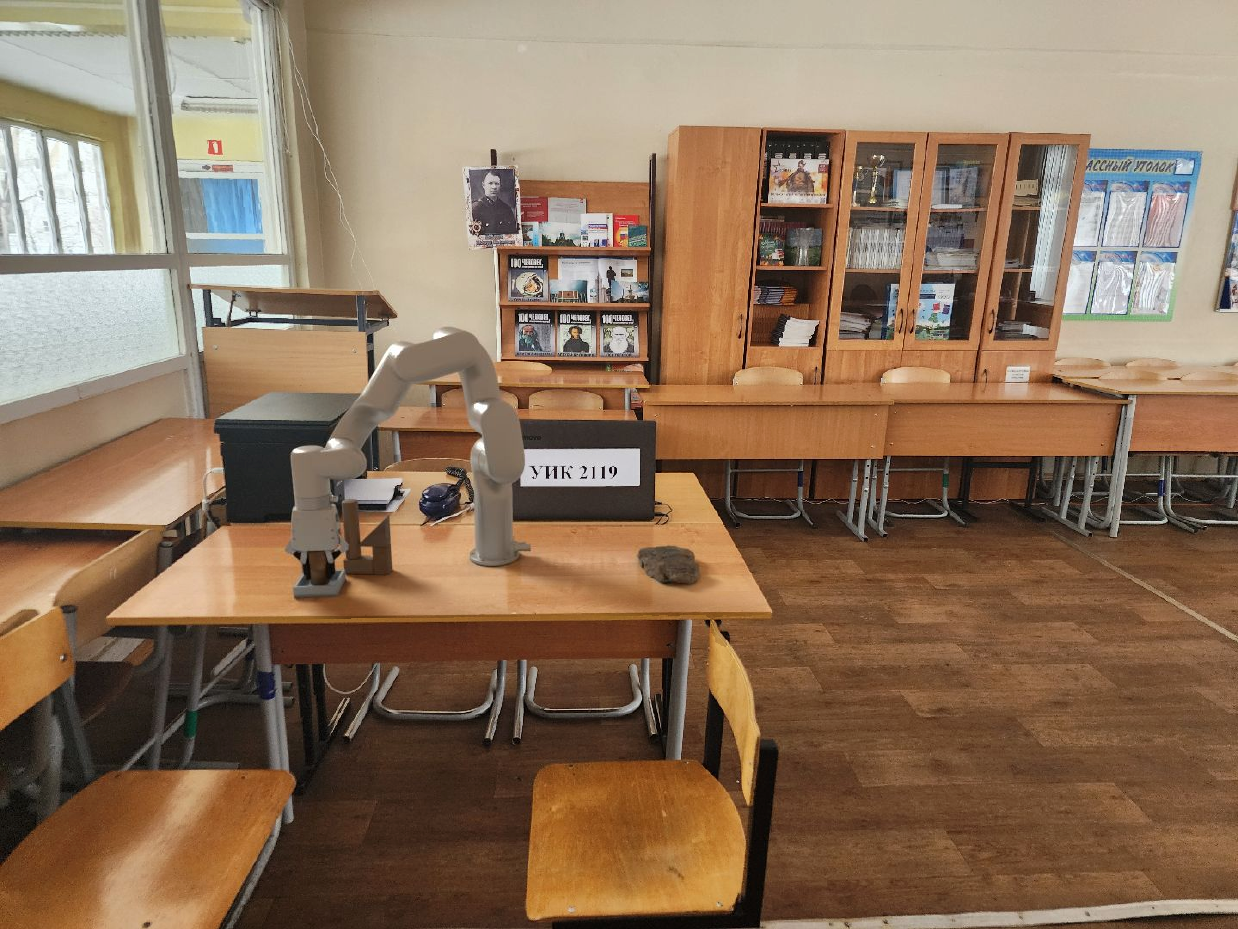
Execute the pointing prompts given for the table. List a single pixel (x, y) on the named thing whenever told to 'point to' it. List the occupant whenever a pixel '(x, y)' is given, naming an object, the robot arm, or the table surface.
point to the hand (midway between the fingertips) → (320, 576)
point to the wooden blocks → (365, 543)
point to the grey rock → (669, 564)
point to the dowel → (318, 567)
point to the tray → (319, 586)
